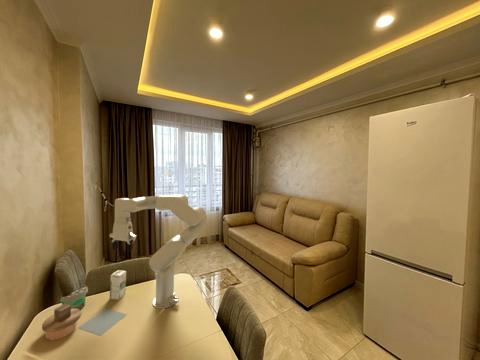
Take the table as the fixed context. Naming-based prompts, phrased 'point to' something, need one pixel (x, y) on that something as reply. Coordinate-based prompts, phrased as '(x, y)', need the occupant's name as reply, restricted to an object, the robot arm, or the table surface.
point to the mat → (102, 321)
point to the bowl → (61, 332)
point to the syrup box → (117, 284)
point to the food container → (76, 298)
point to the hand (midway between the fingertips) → (122, 249)
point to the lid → (61, 318)
